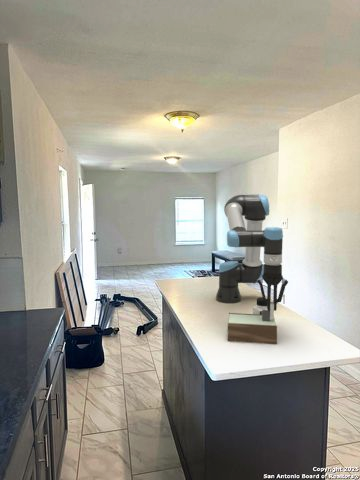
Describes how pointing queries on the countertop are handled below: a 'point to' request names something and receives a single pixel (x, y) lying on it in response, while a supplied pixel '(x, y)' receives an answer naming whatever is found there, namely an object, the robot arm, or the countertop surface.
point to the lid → (252, 319)
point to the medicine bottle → (260, 306)
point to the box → (252, 332)
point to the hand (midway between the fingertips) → (271, 317)
